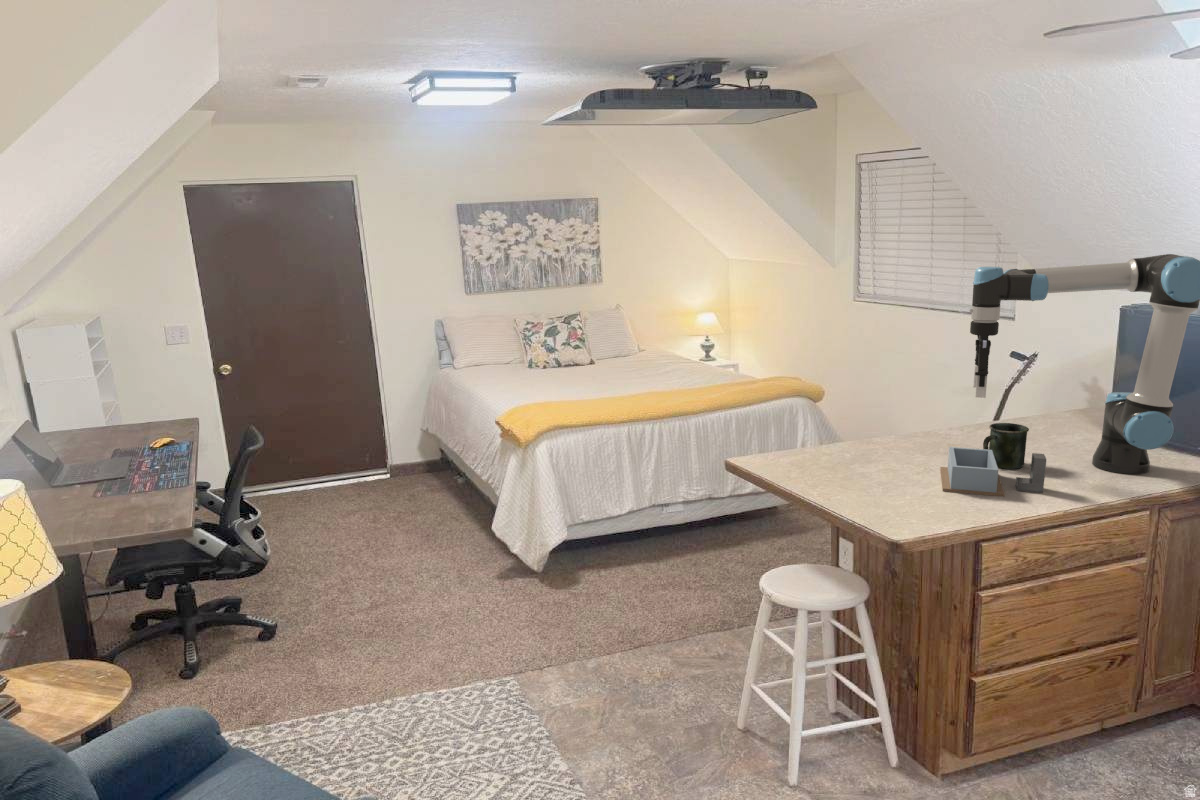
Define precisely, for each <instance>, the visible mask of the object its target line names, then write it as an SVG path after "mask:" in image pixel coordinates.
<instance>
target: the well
mask: <svg viewBox="0 0 1200 800" xmlns="http://www.w3.org/2000/svg"><path fill="white" fill-rule="evenodd" d="M939 471H940V477H941V478H940V479H941V486H942V488H941V489H942V492H946V491H948V492H947V493H958V492H960V494H970V493H972V494H971V495H983V496H995V497H1005V491H1004V487H1003V484H1002V482H1001V481H1002V480H1001V479H1000V475H999V468H998V467H997V464H996V461H995V458H994V455H993V451H992V450H987V449H983V448H970V447H969V448H968V447H956V446H949V447H948V459H947V467H945V466H940V467H939Z"/></svg>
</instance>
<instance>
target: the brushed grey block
mask: <svg viewBox="0 0 1200 800" xmlns="http://www.w3.org/2000/svg"><path fill="white" fill-rule="evenodd" d="M1046 467H1047V457H1046V455H1045V454H1044V453H1035V452H1033V453H1032V454H1031V462H1030V473H1029V477H1021V476H1020V477H1018V476H1016V478H1015V487H1016V491H1017V492H1026V493H1037V494H1044V485H1045V477H1046Z"/></svg>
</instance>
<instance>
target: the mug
mask: <svg viewBox="0 0 1200 800" xmlns="http://www.w3.org/2000/svg"><path fill="white" fill-rule="evenodd" d="M989 429H990V433H989V434H990V435H988V436H985V438H984V440H983V443H982V447H983V448H982V449H987V450H992V451H993V455H994V458H995V461H996V464H997V467H998V469H1006V470H1007V469H1008V470H1017V469H1020V468H1022V467H1024V465H1025V458H1026V447H1027V436H1028V433H1029V430H1030V428H1029V427H1028V426H1026V425H1022V424H1018V423H1010V422H996V423H992V424H990V425H989Z"/></svg>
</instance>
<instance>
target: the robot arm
mask: <svg viewBox="0 0 1200 800" xmlns="http://www.w3.org/2000/svg"><path fill="white" fill-rule="evenodd" d="M972 284H973V285H972V286H973V288H972V301H971V303H972V306H971V308H970V309H969V310H968V311H969V313H971V317H970V318H971V321H970V325H969V326H970V329H969V330H970V331H969V334H971V335H974V336H976V337H977V339H975V344H974V345H975V358H974V361H975V362H974V365H975V366H974V374H973V388H975V393H974V394H975V395H974V396H975V398H981V399H982V398H983V399H986V397H987V385H988V374H989V356H990V354H991V350H990V349H991V345H992V342H991V340H990V339H989V337H990V336H991V337H992V336H993V337H994V336H997V335H998V334H999V326H1000V325H999V321H1000V317H1001V316H1000V315H1001V302H1002V301H1024V302H1025V301H1028V302H1029V301H1031V302H1035V301H1044V300H1045V299H1046V298H1047V297H1048V294H1057V293H1058V294H1059V293H1073V292H1074V293H1075V292H1076V293H1077V292H1093V291H1110V290H1127V291H1129V292H1131V293H1136V292H1144V293H1150V298H1149V305H1150V306H1151V307H1152V309H1153V312H1152V317H1151V320H1150V323H1149V328H1148V333H1147V335H1146V336H1147V337H1146V341H1145V344H1144V348H1143V353H1142V357H1141V360H1140V366H1139V369H1138V373H1137V377H1136V381H1135V385H1134V389H1133V391H1132V392H1128V391H1127V392H1124V391H1123V392H1122V391H1121V392H1120V391H1119V392H1117V391H1115V392H1114V391H1113V392H1109V393H1107V395H1106V400H1105V402H1104V404H1105V407H1104V413H1103V414H1104V416H1103V423H1102V432H1101V440H1100V442H1099V444H1098V445H1097V448H1096V450H1095V451H1094V453H1093V456H1092V460H1091V461H1092V462H1091V464H1092V465H1093V466H1094V467H1095V468H1098V469H1100V470H1104V471H1108V472H1112V473H1117V474H1126V475H1127V474H1128V475H1131V474H1132V475H1134V474H1135V475H1138V474H1139V475H1141V474H1145V473H1148V472H1149V471H1150V465H1151V463H1150V462H1151V461H1150V457H1149V453H1148V450H1150V451H1151V450H1156V449H1159V448H1160V447H1163V446H1165V445H1166V444H1167V443H1168V442H1169V441H1170V440H1171V438H1172V436H1173V435H1174V430H1175V429H1174V428H1175V427H1174V423H1173V421H1172V419H1171V415H1172V411H1173V407H1174V403H1173V402H1172V401H1171V400H1170V393H1171V390H1172V389H1171V388H1172V385H1173V381H1174V378H1175V374H1176V369H1177V366H1178V361H1179V358H1180V353H1181V351H1182V347H1183V342H1184V338H1185V334H1186V330H1187V326H1188V322H1189V319H1190V315H1191V314H1192V313H1194V312H1195V311H1197V310H1198V309H1199V305H1200V259H1197V258H1195V257H1192V256H1188V255H1187V256H1186V255H1185V256H1184V255H1179V254H1171V253H1167V254H1165V253H1164V254H1160V255H1159V254H1158V255H1153V256H1147V257H1136V258H1129V259H1128V261H1126V262H1117V263H1116V262H1115V263H1101V264H1087V265H1086V264H1084V265H1083V264H1082V265H1071V266H1069V265H1068V266H1057V267H1055V266H1054V267H1043V268H1039V267H1038V268H1034V269H1033V268H1027V269H1026V268H1025V269H1018V268H1013V269H1012V268H1011V269H1006V270H1005V271H1004V269H1003V267H1000V266H979V267H977V268H976V269H975V270H974V277H973V283H972Z"/></svg>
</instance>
